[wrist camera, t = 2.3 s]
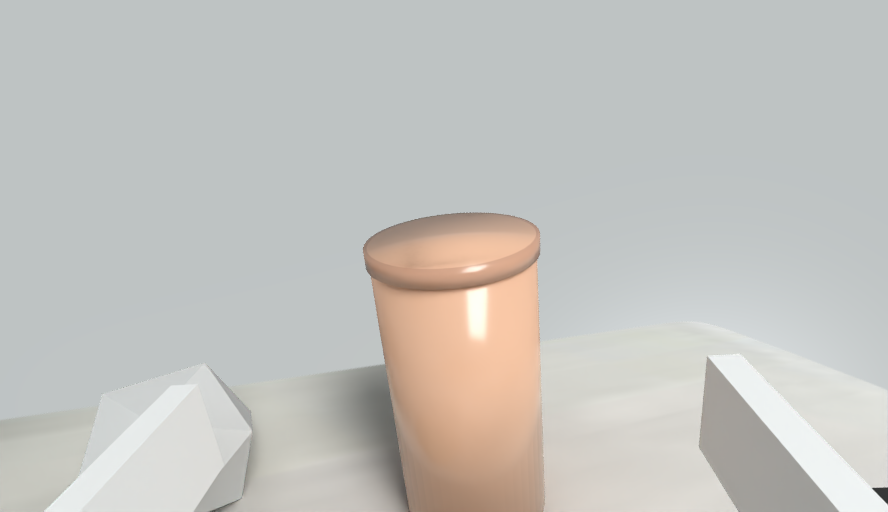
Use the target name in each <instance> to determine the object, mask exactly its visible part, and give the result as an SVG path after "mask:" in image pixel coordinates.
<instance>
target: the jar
mask: <svg viewBox="0 0 888 512" xmlns="http://www.w3.org/2000/svg"><path fill="white" fill-rule="evenodd" d="M363 253H364V259H365V265H366V270H367V272H368V273H369V274H370V276H371V280H372V286H373V292H374V298H375V304H376V310H377V316H378V323H379V329H380V335H381V341H382V346H383V353H384V359H385V365H386V372H387V378H388V384H389V390H390V396H391V402H392V408H393V414H394V420H395V426H396V432H397V439H398V445H399V451H400V457H401V463H402V469H403V475H404V481H405V487H406V493H407V499H408V506H409V512H543V510H544V504H545V488H544V457H543V426H542V396H541V365H540V337H539V304H538V274H537V259H538V257H539V255H540V232H539V229H538V228H537V227H536V226H535V225H534V224H533V223H531V222H529V221H527V220H524V219H522V218H518V217H515V216H510V215H503V214H494V213H456V214H445V215H437V216H430V217H425V218H419V219H415V220H411V221H407V222H404V223H400V224H397V225H394V226H392V227H389V228H387V229H384V230H382V231H380V232H378V233H376V234H375V235H374V236H372V237H371V238H370V239H368V240H367V241H366V243H365V244H364V247H363Z"/></svg>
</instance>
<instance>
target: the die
mask: <svg viewBox="0 0 888 512" xmlns="http://www.w3.org/2000/svg"><path fill="white" fill-rule="evenodd" d="M189 384H198V387H199V390H200V393H201V396H202V399H203V402H204V405H205V408H206V411H207V414H208V417H209V420H210V423H211V426H212V429H213V432H214V435H215V438H216V441H217V444H218V447H219V450H220V454H221V457H222V460H223V463H224V466H223V468H222V469H221V471H220V472H219V474H218V475H217V477H216V478H215V480H214V481H213V483H212V484H211V486H210V487H209V489H208V490H207V492H206V493H205V495H204V496H203V498H202V499H201V501H200V502H199V504H198V505H197V507H196V508H195V510H194V511H193V512H210V511H213V510H215V509H217V508H220V507H222V506H225V505H227V504H229V503H232V502H234V501H237V500H239V499H241V498H242V494H243V488H244V481H245V475H246V469H247V463H248V456H249V450H250V444H251V438H252V419H251V411H250V410H249V409H248V408H247V407H246V406H245V405H244V403H243V402H242V401H241V400H240V399H239V398H238V397H237V396H236V395H235V394H234V393H233V392H232V391H231V390H230V389H229V388H228V387H227V386H226V384H225V383H224V382H223V381H222V380H221V379H220V378H219V377H218V376H217V375H216V374H215V373H214V372H213V371H212V370H211V369H210V368H209V366H208V365H207V364H206V363H203V364H199V365H196V366H193V367H189V368H186V369H183V370H179V371H176V372H173V373H169V374H166V375H163V376H160V377H156V378H153V379H150V380H146V381H143V382H140V383H136V384H133V385H130V386H126V387H123V388H120V389H117V390H114V391H110V392H107V393H103V394H102V397H101V401H100V404H99V407H98V411H97V414H96V418H95V421H94V425H93V428H92V432H91V435H90V439H89V442H88V446H87V449H86V453H85V456H84V459H83V463H82V466H81V470H80V473H79V476H80V475H81V474H82V473H83V472H84V471H85V470H86V469H87V468H88V467H89V466H90V465H91V464H92V463H93V462H94V461H95V460H96V459H97V458H98V457H99V456H100V455H101V454H102V453H103V452H104V451H105V450H106V449H107V448H108V447H109V446H110V445H111V444H112V443H113V442H114V441H115V440H116V439H117V438H118V437H119V436H120V435H121V434H122V433H123V432H124V431H125V430H126V429H127V428H128V427H130V426H131V425H132V424H133V423H134V422H135V421H136V420H137V419H138V418H139V417H140V416H141V415H142V414H143V413H144V412H145V411H146V410H147V409H148V408H149V407H150V406H151V405H152V404H153V403H154V402H155V401H156V400H157V399H158V398H159V397H160V396H161V395H162V394H163V393H164V392H165V391H166V390H167V389H168V388H169V387H170V386H171V385H189Z"/></svg>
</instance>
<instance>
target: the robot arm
mask: <svg viewBox="0 0 888 512" xmlns="http://www.w3.org/2000/svg"><path fill="white" fill-rule="evenodd" d="M699 448H700V450H701V451H702V453H703V454H704V456H705V458H706V459H707V461H708V463H709V464H710V466H711V467H712V469H713V471H714V472H715V474H716V476H717V477H718V479H719V481H720V482H721V484H722V485H723V487H724V489H725V490H726V492H727V494H728V495H729V497H730V498H731V500H732V502H733V503H734V505H735V507H736V508H737V510H738V512H888V488H871V487H870V486H869V485H868V484H867V483H866V482H865V481H864V480H863V479H862V478H861V477H860V476H859V475H858V474H857V473H856V472H855V471H854V470H853V469H852V468H851V467H850V466H849V465H848V464H847V463H846V462H845V460H844V459H843V458H842V457H841V456H840V455H839V454H838V453H837V452H836V451H835V450H834V449H833V448H832V447H831V446H830V445H829V444H828V443H827V442H826V441H825V440H824V439H823V438H822V437H821V436H820V435H819V434H818V433H817V432H816V431H815V430H814V429H813V428H812V427H811V426H810V425H809V424H808V423H807V422H806V421H805V420H804V419H803V417H802V416H801V415H800V414H799V413H798V412H797V411H796V410H795V409H794V408H793V407H792V406H791V405H790V404H789V403H788V402H787V401H786V400H785V399H784V398H783V397H782V396H781V395H780V394H779V393H778V392H777V391H776V390H775V389H774V388H773V387H772V386H771V385H770V384H769V383H768V382H767V381H766V380H765V379H764V378H763V377H762V376H761V374H760V373H759V372H758V371H757V370H756V369H755V368H754V367H753V366H752V365H751V364H750V363H749V362H748V361H747V360H746V359H745V358H744V357H743V356H742V355H741V354H729V355H711V356H707V363H706V374H705V385H704V396H703V407H702V418H701V429H700V440H699ZM223 466H224V463H223V460H222V457H221V454H220V450H219V447H218V444H217V441H216V438H215V435H214V432H213V429H212V426H211V423H210V420H209V417H208V414H207V411H206V408H205V405H204V402H203V399H202V396H201V393H200V390H199V387H198V384H189V385H171V386H170V387H169V388H168V389H167V390H166V391H165V392H164V393H163V394H162V395H161V396H160V397H159V398H158V399H157V400H156V401H155V402H154V403H153V404H152V405H151V406H150V407H149V408H148V409H147V410H146V411H145V412H144V413H143V414H142V415H141V416H140V417H139V418H138V419H137V420H136V421H135V422H134V423H133V424H132V425H131V426H130V427H128V428H127V429H126V430H125V431H124V432H123V433H122V434H121V435H120V436H119V437H118V438H117V439H116V440H115V441H114V442H113V443H112V444H111V445H110V446H109V447H108V448H107V449H106V450H105V451H104V452H103V453H102V454H101V455H100V456H99V457H98V458H97V459H96V460H95V461H94V462H93V463H92V464H91V465H90V466H89V467H88V468H87V469H86V470H85V471H84V472H83V473H82V474H81V475H80V476H79V477H78V478H77V479H76V480H75V481H74V482H73V483H72V484H71V485H70V486H69V487H68V488H67V489H66V490H65V491H64V492H63V493H62V494H61V495H60V496H59V497H58V498H57V499H56V500H55V501H54V502H53V503H52V504H51V505H50V506H49V507H48V508H47V509H46V510H45V511H44V512H193V511H194V510H195V508H196V507H197V505H198V504H199V502H200V501H201V499H202V498H203V496H204V495H205V493H206V492H207V490H208V489H209V487H210V486H211V484H212V483H213V481H214V480H215V478H216V477H217V475H218V474H219V472H220V471H221V469H222V468H223Z"/></svg>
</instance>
